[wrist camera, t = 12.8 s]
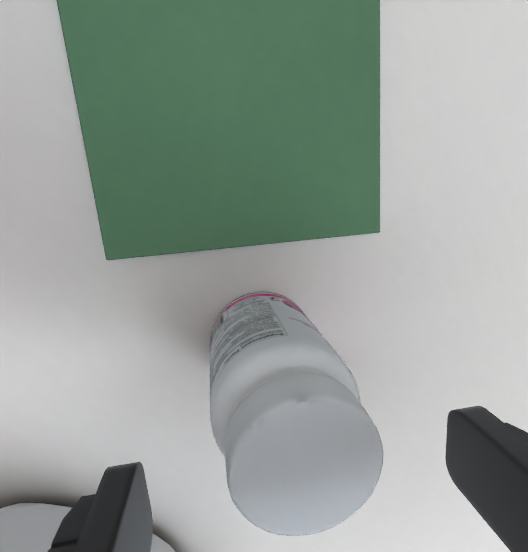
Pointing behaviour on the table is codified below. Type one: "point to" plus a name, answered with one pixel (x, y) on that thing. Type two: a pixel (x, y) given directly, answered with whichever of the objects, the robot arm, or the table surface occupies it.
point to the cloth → (227, 120)
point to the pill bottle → (288, 419)
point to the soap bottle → (41, 528)
